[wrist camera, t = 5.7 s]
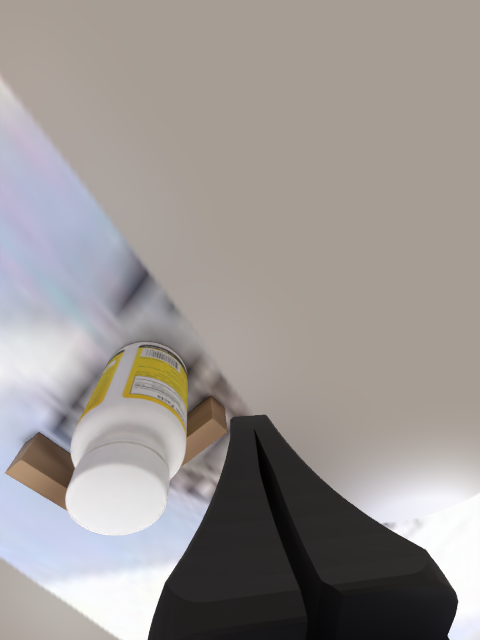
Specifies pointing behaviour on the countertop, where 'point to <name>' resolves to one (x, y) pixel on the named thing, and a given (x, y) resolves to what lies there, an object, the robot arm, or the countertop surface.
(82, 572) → the countertop surface
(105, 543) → the countertop surface
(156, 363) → the supplement bottle
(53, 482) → the wooden l-shaped block
